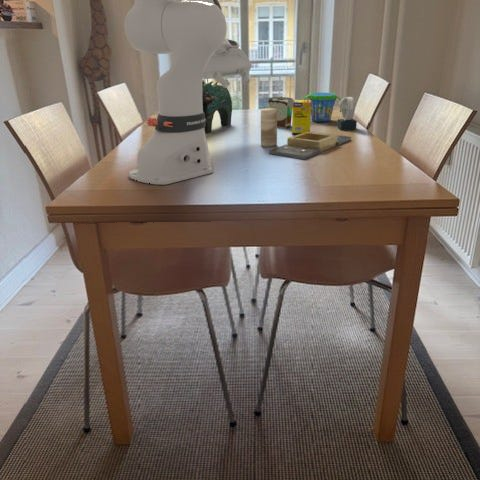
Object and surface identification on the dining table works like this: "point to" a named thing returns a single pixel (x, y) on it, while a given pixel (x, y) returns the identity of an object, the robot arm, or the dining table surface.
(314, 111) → the snack cup
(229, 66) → the robot arm
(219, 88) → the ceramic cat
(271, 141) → the hinge pin
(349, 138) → the hinge
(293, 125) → the supplement box
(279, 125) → the food container
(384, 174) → the dining table surface
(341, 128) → the watch
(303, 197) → the dining table surface
